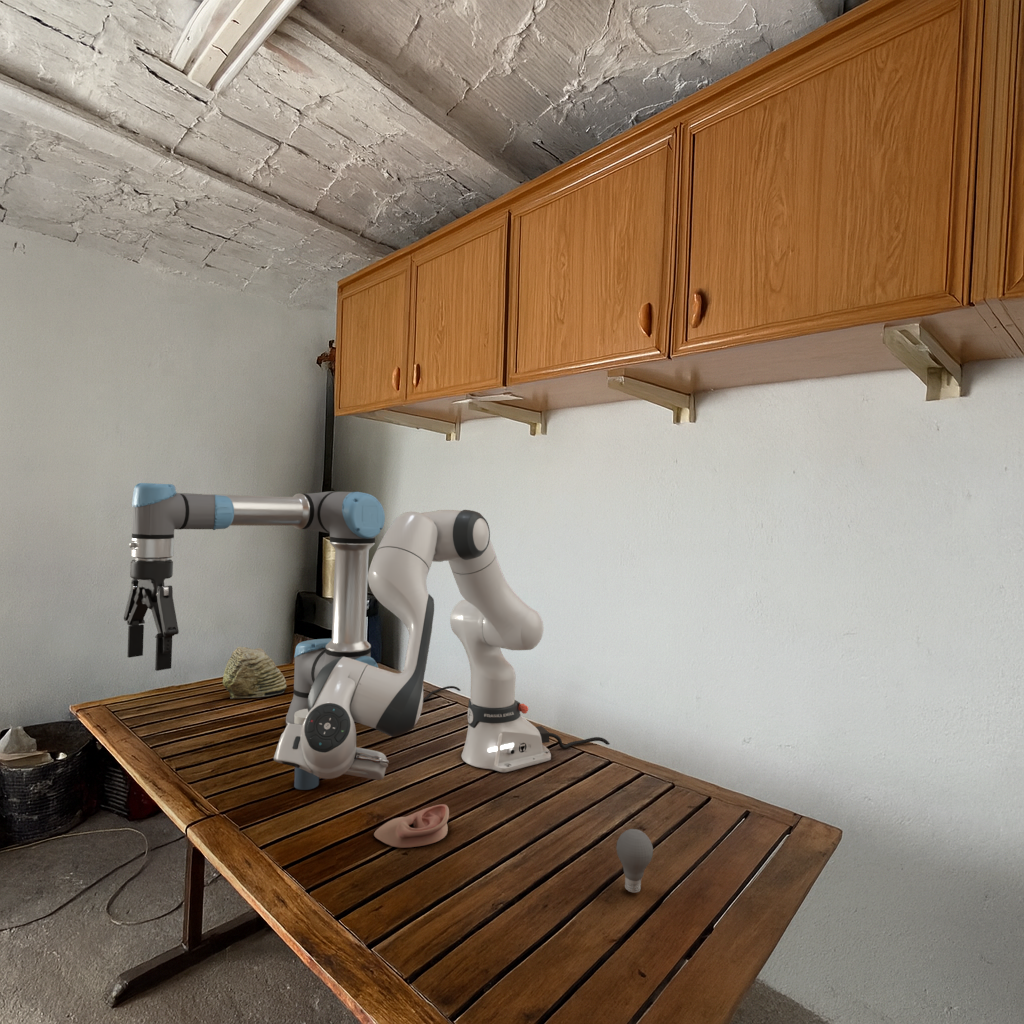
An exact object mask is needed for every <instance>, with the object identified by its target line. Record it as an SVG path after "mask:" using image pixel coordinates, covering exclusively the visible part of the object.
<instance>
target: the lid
mask: <svg viewBox="0 0 1024 1024" xmlns="http://www.w3.org/2000/svg"><path fill="white" fill-rule="evenodd" d="M307 714H308V709H302V710H299V711H297V712H295V715H294V724H303V723H304V720H305V718H306V716H307Z"/></svg>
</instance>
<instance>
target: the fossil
mask: <svg viewBox="0 0 1024 1024" xmlns="http://www.w3.org/2000/svg"><path fill="white" fill-rule="evenodd" d="M222 676H223V677H222V685H223V687H224V688H225V690H226V691H228V693H229V698H230V699H250V698H264V697H271V696H275V695H281V694H284V693H285V691H286V689H287V687H288V686H287V680H286V678H285V676H284V674H283V673H282V672H281V669H279V668H278V667H277V665H276V663H275V662H274V660H273V659H272V658H271V657H270V656H269V655H268V654H267V653H266V652H265V650H264V649H263V648H260V647H258V648H251V647H247V646H246V647H245V646H238V647H237V648H236V649H235V650H233V651H232V653H231V656H230V657H229V659H228V660H227V663H226V666H225V668H224V671H223V675H222Z"/></svg>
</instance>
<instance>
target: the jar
mask: <svg viewBox="0 0 1024 1024" xmlns="http://www.w3.org/2000/svg"><path fill="white" fill-rule="evenodd" d="M293 774H294V776H293V777H294V778H293V788H295V789H296V790H299V791H300V790H301V791H308V790H313V789H315V788H317V787H319V785H320V777H317V776H315V775H314V774H313V773H309V772H307V771H305V770H303V769H301V768H297V767H294V773H293Z"/></svg>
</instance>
